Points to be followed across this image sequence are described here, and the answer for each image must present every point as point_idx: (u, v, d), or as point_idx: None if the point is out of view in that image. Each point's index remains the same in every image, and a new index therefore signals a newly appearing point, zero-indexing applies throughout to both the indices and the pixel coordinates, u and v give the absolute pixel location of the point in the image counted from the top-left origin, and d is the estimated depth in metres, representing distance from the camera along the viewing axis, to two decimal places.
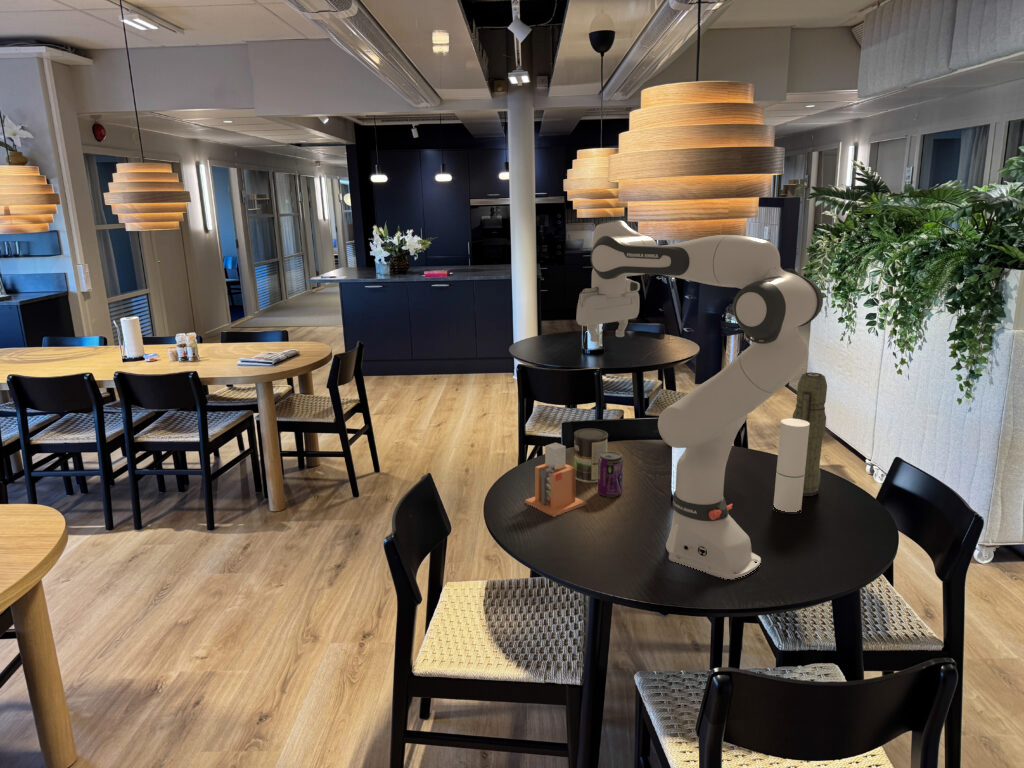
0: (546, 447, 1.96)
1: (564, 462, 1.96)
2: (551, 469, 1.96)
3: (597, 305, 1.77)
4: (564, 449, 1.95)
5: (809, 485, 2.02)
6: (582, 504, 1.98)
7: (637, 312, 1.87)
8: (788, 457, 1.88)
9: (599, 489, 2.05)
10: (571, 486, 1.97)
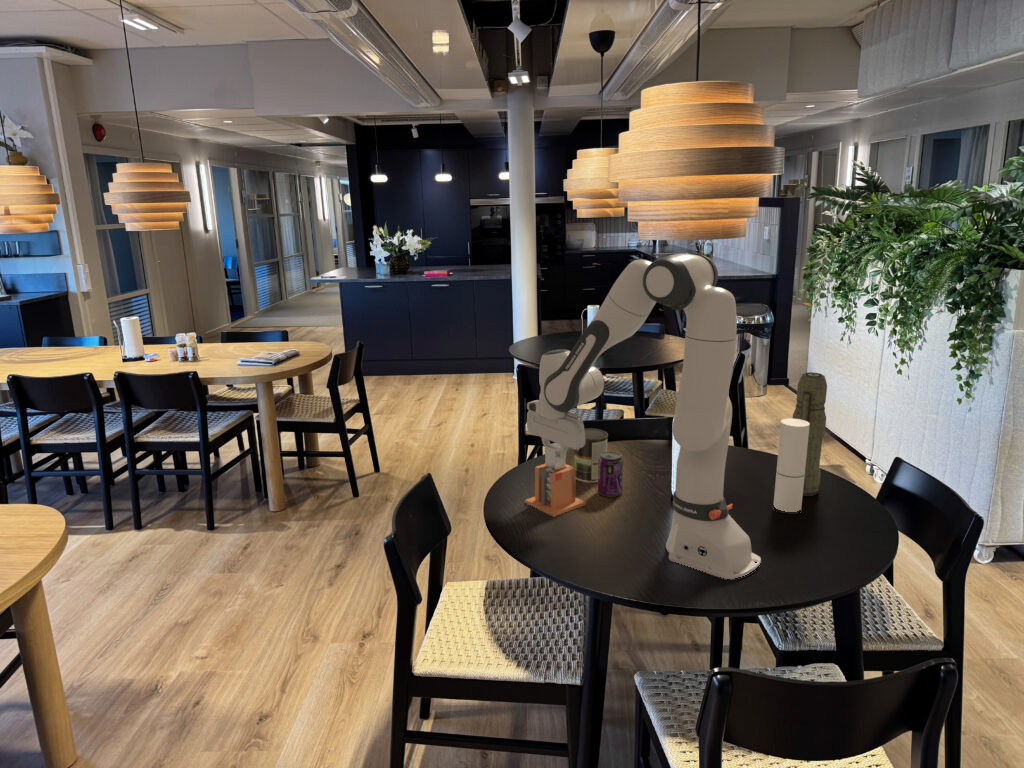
0: (546, 447, 1.96)
1: (564, 462, 1.96)
2: (551, 469, 1.96)
3: None
4: None
5: (809, 485, 2.02)
6: (582, 504, 1.98)
7: None
8: (788, 458, 1.88)
9: (599, 489, 2.05)
10: (571, 486, 1.97)
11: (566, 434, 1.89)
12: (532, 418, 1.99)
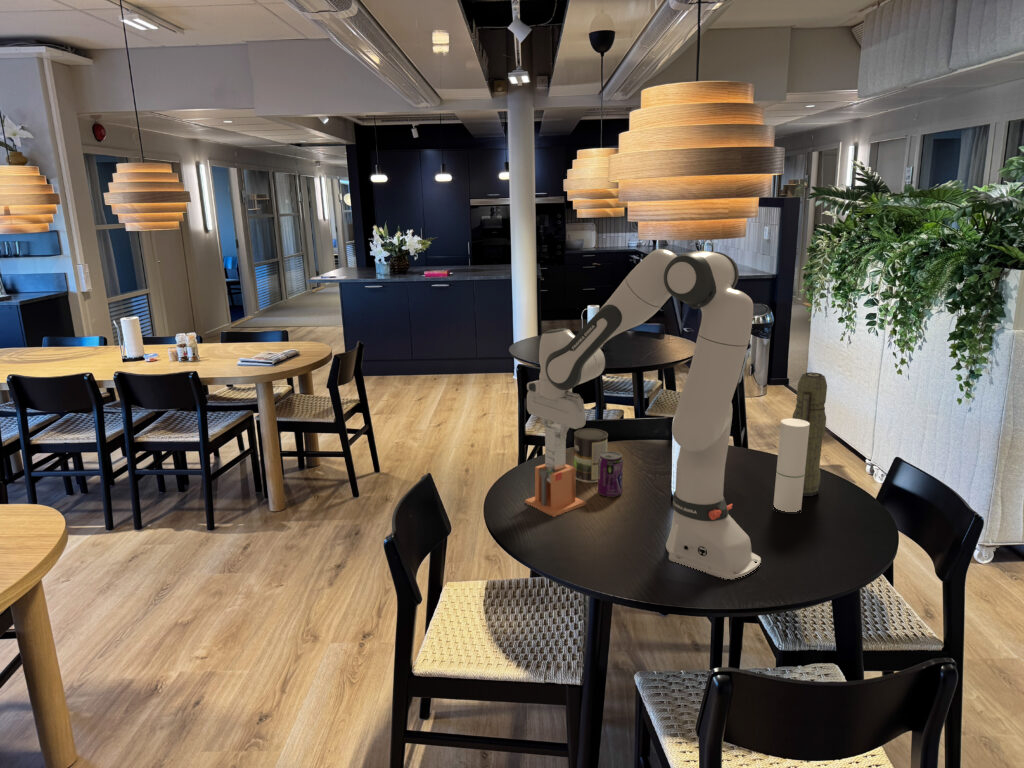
0: (546, 428, 1.94)
1: (564, 443, 1.95)
2: (551, 450, 1.94)
3: None
4: None
5: (809, 485, 2.02)
6: (582, 504, 1.98)
7: None
8: (788, 458, 1.88)
9: (599, 489, 2.05)
10: (571, 486, 1.97)
11: (566, 414, 1.87)
12: (532, 399, 1.97)
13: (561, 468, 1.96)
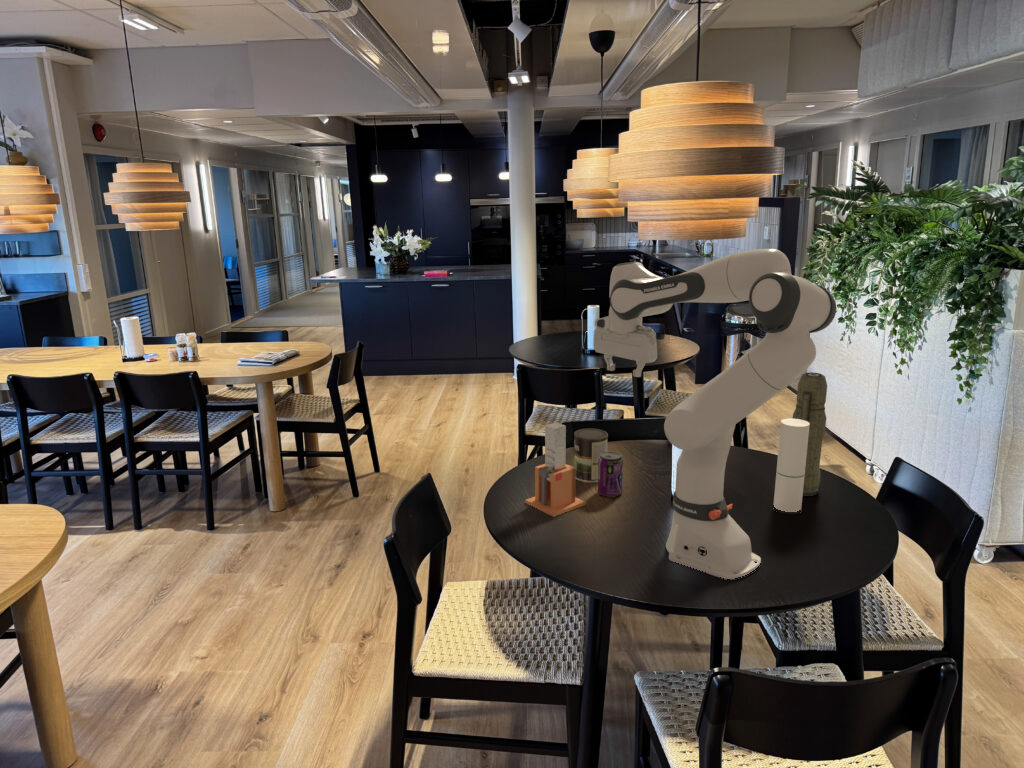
0: (546, 427, 1.94)
1: (564, 442, 1.95)
2: (551, 449, 1.94)
3: None
4: (564, 429, 1.94)
5: (809, 485, 2.02)
6: (582, 504, 1.98)
7: None
8: (788, 458, 1.88)
9: (599, 489, 2.05)
10: (571, 486, 1.97)
11: (638, 348, 1.85)
12: (599, 336, 1.95)
13: (561, 467, 1.96)
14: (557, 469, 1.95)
